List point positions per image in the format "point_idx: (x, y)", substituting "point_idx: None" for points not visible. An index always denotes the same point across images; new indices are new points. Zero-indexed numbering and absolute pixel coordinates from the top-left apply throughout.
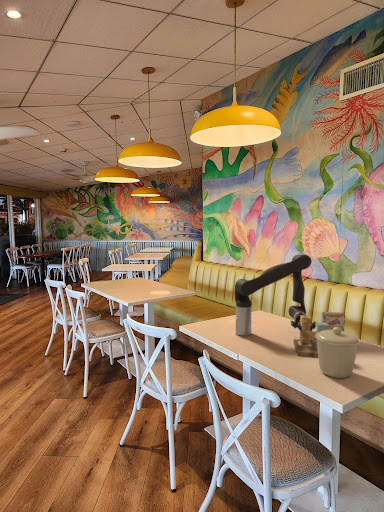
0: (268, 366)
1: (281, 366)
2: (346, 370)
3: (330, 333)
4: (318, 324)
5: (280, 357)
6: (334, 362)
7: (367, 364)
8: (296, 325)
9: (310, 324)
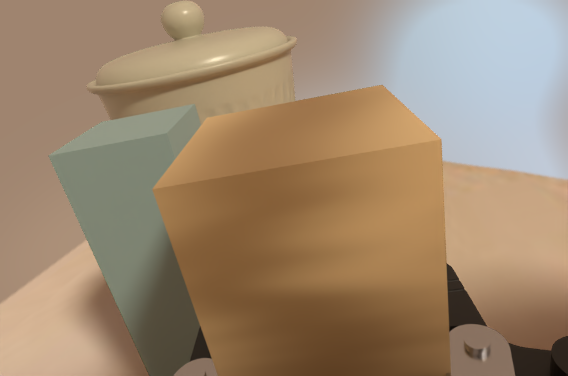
0: (546, 180)
1: (483, 196)
2: None
3: (219, 32)
4: (188, 107)
5: (540, 263)
6: None
7: (17, 326)
8: (538, 360)
9: (200, 365)
